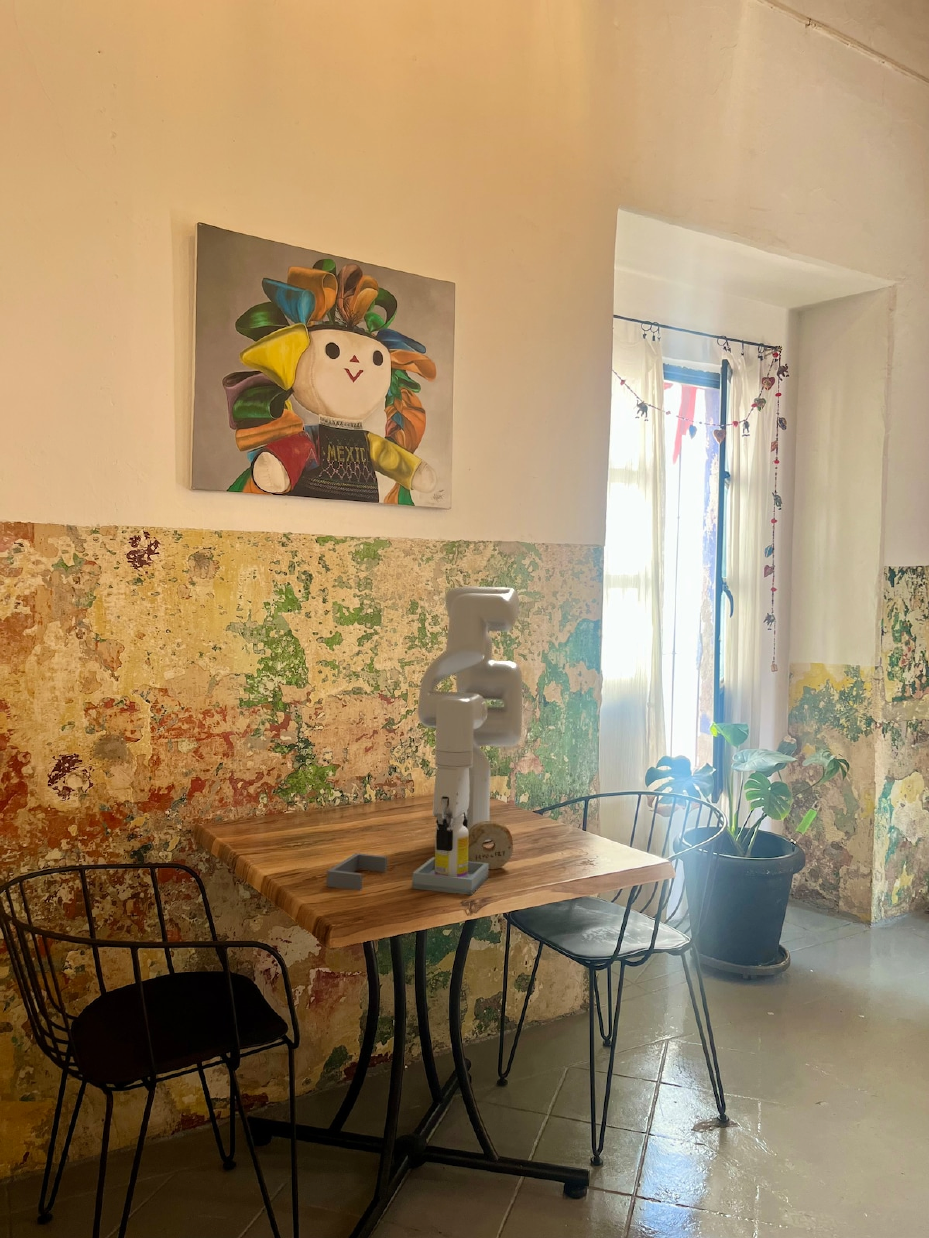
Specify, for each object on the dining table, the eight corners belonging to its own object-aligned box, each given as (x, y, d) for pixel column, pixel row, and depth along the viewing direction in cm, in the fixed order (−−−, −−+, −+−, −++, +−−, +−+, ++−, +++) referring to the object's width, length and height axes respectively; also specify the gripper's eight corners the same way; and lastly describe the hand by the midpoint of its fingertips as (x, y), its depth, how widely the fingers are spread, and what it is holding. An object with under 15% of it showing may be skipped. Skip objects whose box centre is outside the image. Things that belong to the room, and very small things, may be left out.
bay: (355, 867, 192) (356, 852, 192) (386, 870, 190) (387, 856, 190) (326, 886, 179) (327, 871, 179) (359, 890, 177) (360, 874, 177)
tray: (432, 871, 190) (432, 857, 190) (488, 877, 187) (488, 863, 187) (412, 888, 179) (412, 872, 179) (471, 895, 175) (471, 879, 175)
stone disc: (510, 865, 196) (512, 819, 196) (513, 870, 193) (514, 823, 193) (462, 865, 196) (463, 818, 196) (463, 870, 192) (465, 822, 192)
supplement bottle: (467, 873, 186) (468, 810, 186) (468, 883, 180) (469, 818, 179) (434, 872, 186) (435, 809, 186) (434, 882, 179) (435, 817, 179)
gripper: (449, 751, 192) (447, 832, 192) (421, 764, 175) (419, 853, 176) (483, 753, 190) (481, 835, 190) (459, 767, 173) (456, 857, 173)
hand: (451, 844), depth 183 cm, fingers open, 9 cm apart
